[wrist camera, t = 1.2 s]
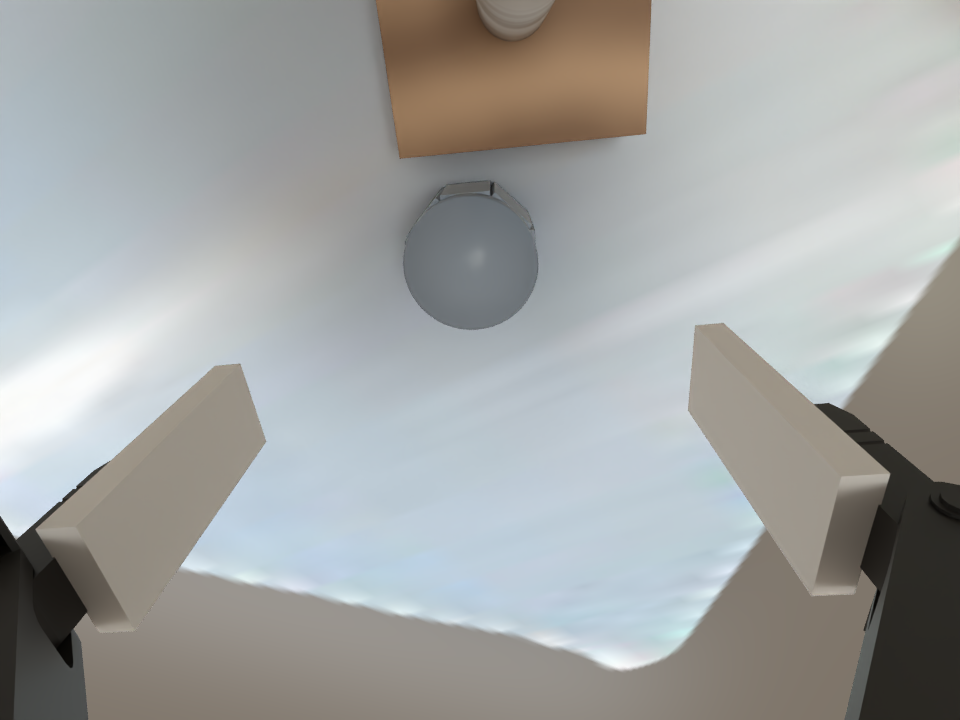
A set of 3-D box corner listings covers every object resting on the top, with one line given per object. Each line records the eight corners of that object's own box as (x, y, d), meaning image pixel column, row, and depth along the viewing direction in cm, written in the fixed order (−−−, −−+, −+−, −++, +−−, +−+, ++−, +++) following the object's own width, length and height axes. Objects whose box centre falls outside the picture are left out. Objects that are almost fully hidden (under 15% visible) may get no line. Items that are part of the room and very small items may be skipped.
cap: (410, 188, 31) (393, 204, 25) (527, 176, 30) (534, 190, 25) (426, 298, 34) (414, 334, 28) (533, 290, 33) (541, 324, 28)
